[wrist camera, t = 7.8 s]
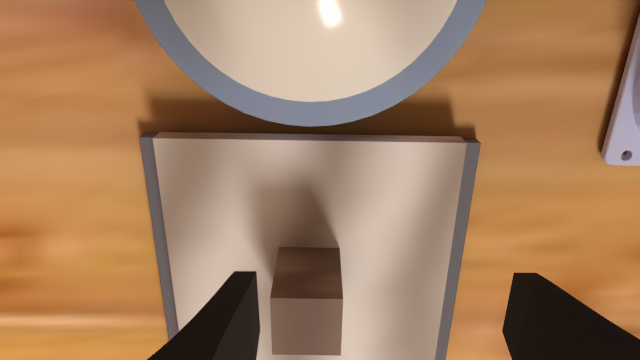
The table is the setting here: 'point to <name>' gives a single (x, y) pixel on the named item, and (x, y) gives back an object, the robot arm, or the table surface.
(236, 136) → the lid
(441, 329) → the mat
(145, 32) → the table surface
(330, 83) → the bowl
